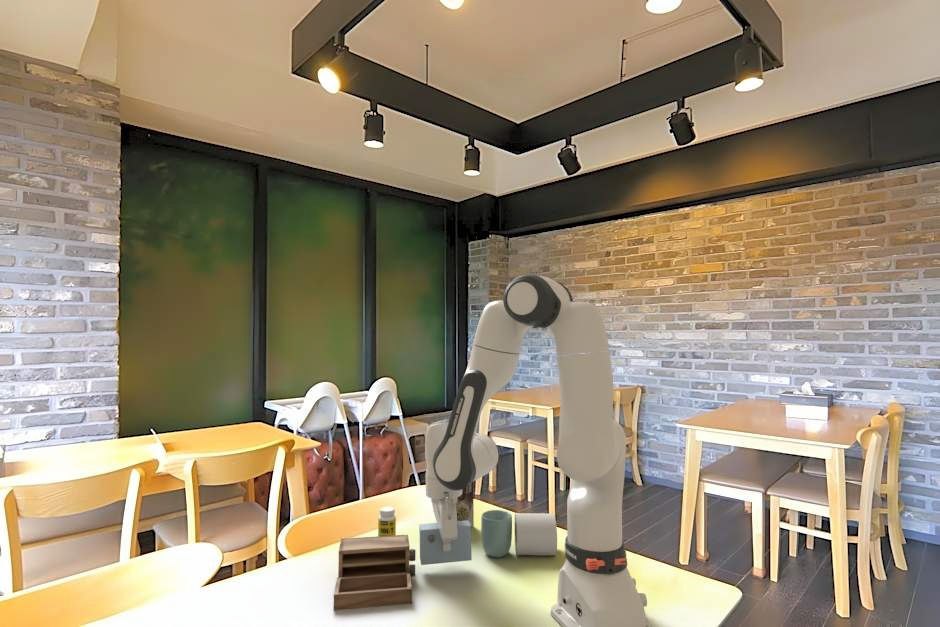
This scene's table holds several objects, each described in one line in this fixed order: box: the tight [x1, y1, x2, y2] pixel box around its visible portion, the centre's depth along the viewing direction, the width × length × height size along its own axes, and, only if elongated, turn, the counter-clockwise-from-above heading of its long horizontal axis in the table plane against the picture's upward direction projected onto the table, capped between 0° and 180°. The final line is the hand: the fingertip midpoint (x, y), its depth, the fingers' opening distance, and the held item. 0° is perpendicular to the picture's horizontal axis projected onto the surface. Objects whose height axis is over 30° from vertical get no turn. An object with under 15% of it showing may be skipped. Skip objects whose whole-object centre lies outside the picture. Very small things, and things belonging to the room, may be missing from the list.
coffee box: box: [455, 481, 475, 528], centre depth 151 cm, size 9×6×16 cm
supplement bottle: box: [377, 506, 397, 537], centre depth 141 cm, size 5×5×8 cm
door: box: [418, 520, 472, 566], centre depth 122 cm, size 5×12×8 cm, turn 99°
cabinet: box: [333, 534, 416, 610], centre depth 115 cm, size 18×17×8 cm
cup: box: [480, 509, 513, 558], centre depth 132 cm, size 8×8×10 cm
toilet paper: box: [513, 512, 558, 556], centre depth 133 cm, size 10×10×10 cm
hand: (445, 545), depth 122 cm, fingers closed on door, 4 cm apart
